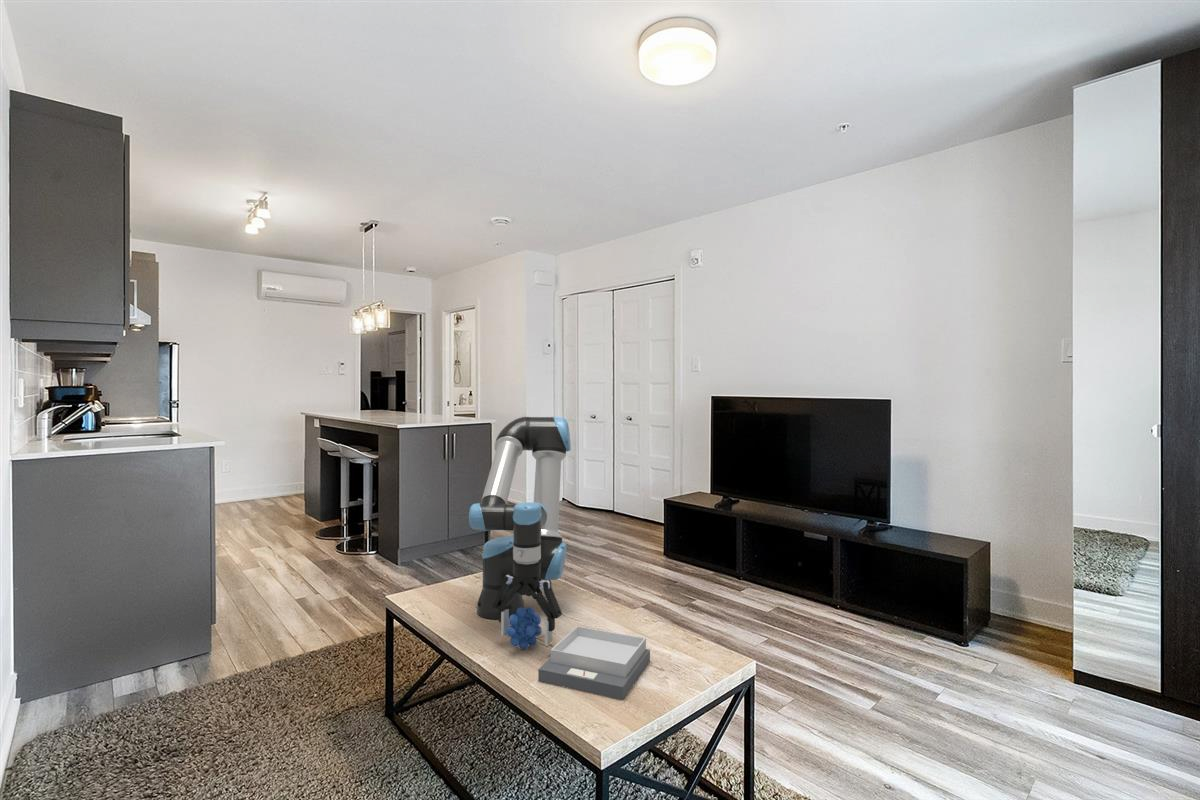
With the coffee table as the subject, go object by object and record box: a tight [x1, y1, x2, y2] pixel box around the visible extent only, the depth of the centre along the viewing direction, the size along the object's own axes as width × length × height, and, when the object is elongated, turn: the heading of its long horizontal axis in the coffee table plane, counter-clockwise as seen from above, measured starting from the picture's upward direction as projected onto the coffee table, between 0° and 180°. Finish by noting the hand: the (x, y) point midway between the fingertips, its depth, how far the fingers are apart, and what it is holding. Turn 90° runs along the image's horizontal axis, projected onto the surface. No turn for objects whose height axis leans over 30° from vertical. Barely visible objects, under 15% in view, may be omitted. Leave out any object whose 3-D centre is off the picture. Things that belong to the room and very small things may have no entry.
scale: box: [537, 625, 651, 701], centre depth 146 cm, size 22×21×6 cm
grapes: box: [506, 607, 543, 651], centre depth 157 cm, size 12×7×12 cm, turn 135°
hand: (526, 638), depth 157 cm, fingers open, 13 cm apart
